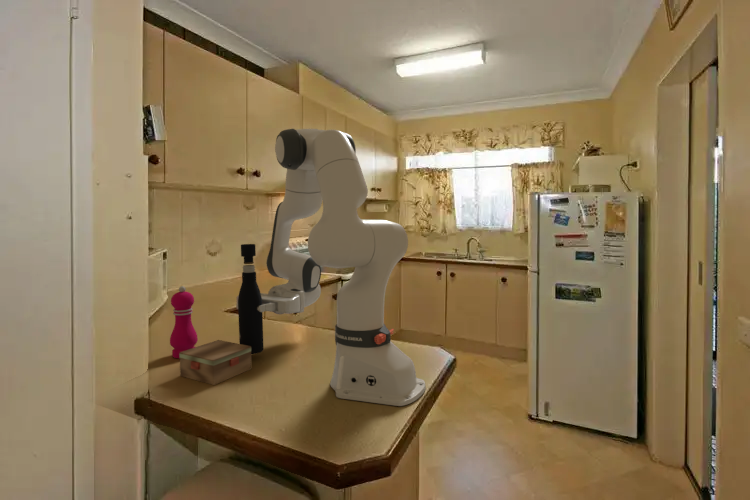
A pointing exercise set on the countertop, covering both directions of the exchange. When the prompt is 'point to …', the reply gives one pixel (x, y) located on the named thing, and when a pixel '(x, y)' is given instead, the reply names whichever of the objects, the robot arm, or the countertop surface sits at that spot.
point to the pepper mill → (182, 323)
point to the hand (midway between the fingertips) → (248, 307)
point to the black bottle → (250, 304)
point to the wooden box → (215, 361)
